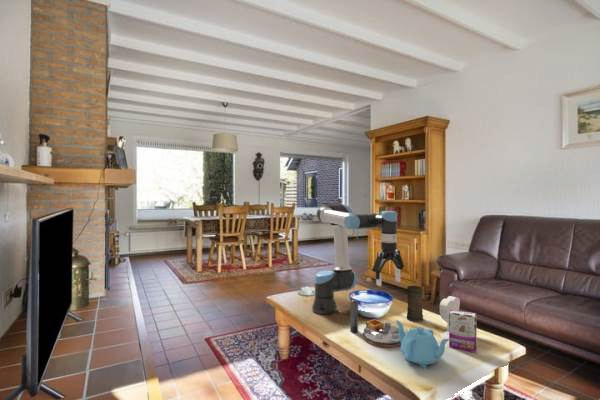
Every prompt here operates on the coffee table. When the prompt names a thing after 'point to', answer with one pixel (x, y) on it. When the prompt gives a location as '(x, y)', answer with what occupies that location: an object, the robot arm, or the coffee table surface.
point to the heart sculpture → (445, 308)
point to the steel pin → (354, 315)
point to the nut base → (381, 344)
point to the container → (415, 304)
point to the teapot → (420, 346)
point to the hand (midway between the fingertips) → (388, 283)
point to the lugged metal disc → (381, 332)
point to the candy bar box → (462, 330)
